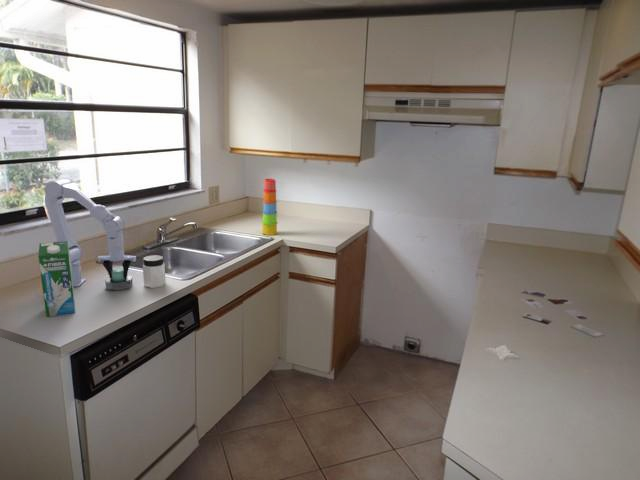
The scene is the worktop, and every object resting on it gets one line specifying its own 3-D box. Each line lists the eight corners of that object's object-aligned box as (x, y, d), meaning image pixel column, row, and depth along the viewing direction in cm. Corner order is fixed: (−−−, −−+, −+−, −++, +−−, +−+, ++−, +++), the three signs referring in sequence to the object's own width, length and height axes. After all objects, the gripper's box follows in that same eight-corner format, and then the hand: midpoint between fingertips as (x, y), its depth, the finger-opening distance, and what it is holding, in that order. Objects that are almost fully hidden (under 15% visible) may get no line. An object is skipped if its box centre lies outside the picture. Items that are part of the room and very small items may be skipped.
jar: (146, 289, 186) (144, 262, 183) (141, 283, 193) (140, 256, 190) (168, 285, 191) (166, 259, 188) (163, 279, 198) (161, 254, 195)
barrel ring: (102, 291, 183) (101, 283, 182) (110, 282, 192) (109, 274, 191) (128, 290, 184) (128, 283, 183) (135, 282, 194) (134, 274, 193)
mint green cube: (110, 283, 185) (109, 272, 183) (114, 278, 189) (113, 268, 188) (122, 283, 185) (122, 273, 184) (126, 279, 190) (126, 269, 189)
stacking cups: (281, 233, 283) (282, 179, 274) (269, 236, 276) (270, 180, 266) (269, 230, 290) (270, 177, 280) (258, 233, 282) (258, 178, 273)
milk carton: (46, 316, 158) (37, 249, 152) (47, 307, 166) (39, 242, 159) (75, 312, 162) (67, 247, 156) (75, 303, 170) (68, 240, 163)
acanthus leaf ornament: (485, 351, 148) (486, 346, 148) (501, 348, 151) (502, 343, 151) (502, 362, 142) (503, 357, 141) (518, 359, 144) (519, 353, 144)
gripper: (94, 249, 179) (97, 281, 182) (131, 249, 181) (134, 280, 184) (99, 244, 185) (102, 275, 189) (136, 244, 187) (138, 274, 191)
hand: (118, 277), depth 187 cm, fingers closed on mint green cube, 5 cm apart
